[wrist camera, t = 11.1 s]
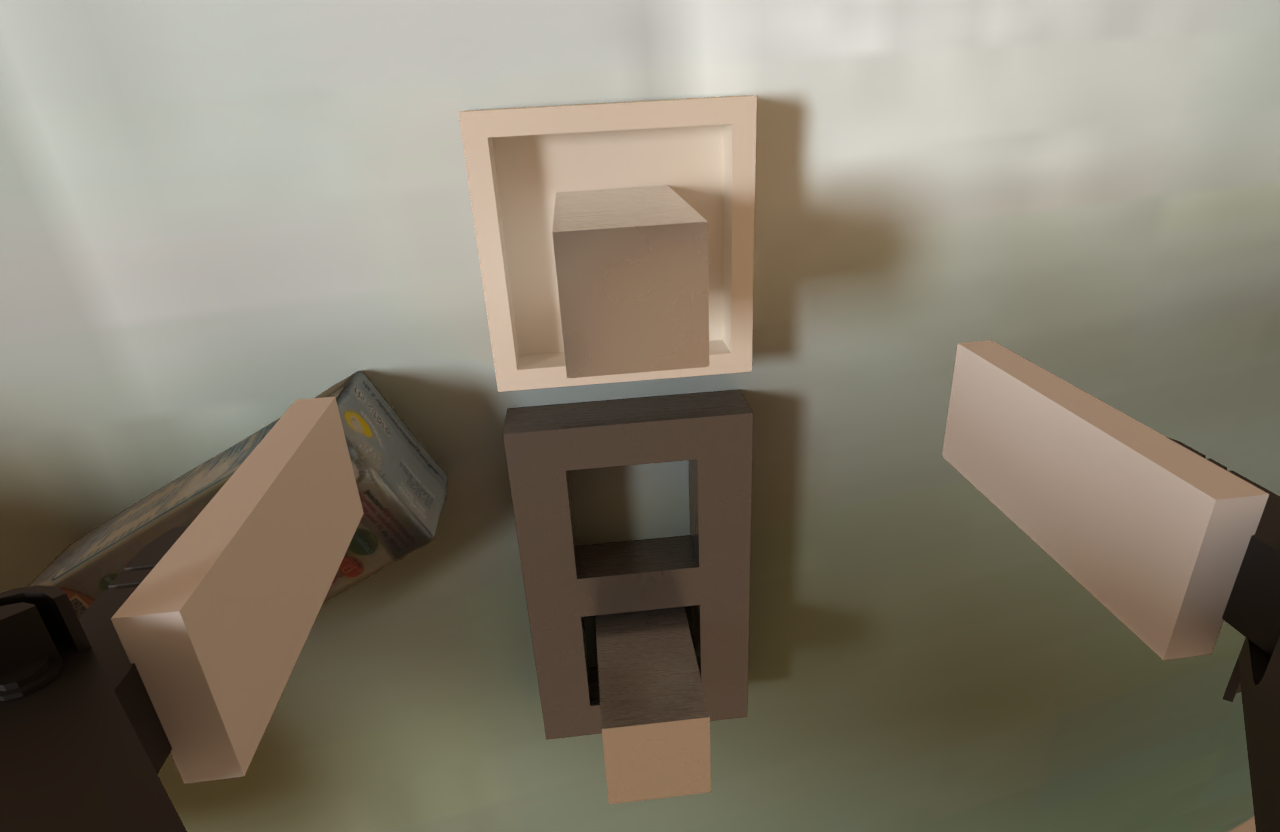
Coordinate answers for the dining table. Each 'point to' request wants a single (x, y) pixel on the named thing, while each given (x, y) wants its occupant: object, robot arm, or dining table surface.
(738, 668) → the rack
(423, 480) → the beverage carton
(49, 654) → the robot arm
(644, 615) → the beige rectangular block
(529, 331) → the tray
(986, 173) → the dining table surface
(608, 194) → the tan rectangular block
